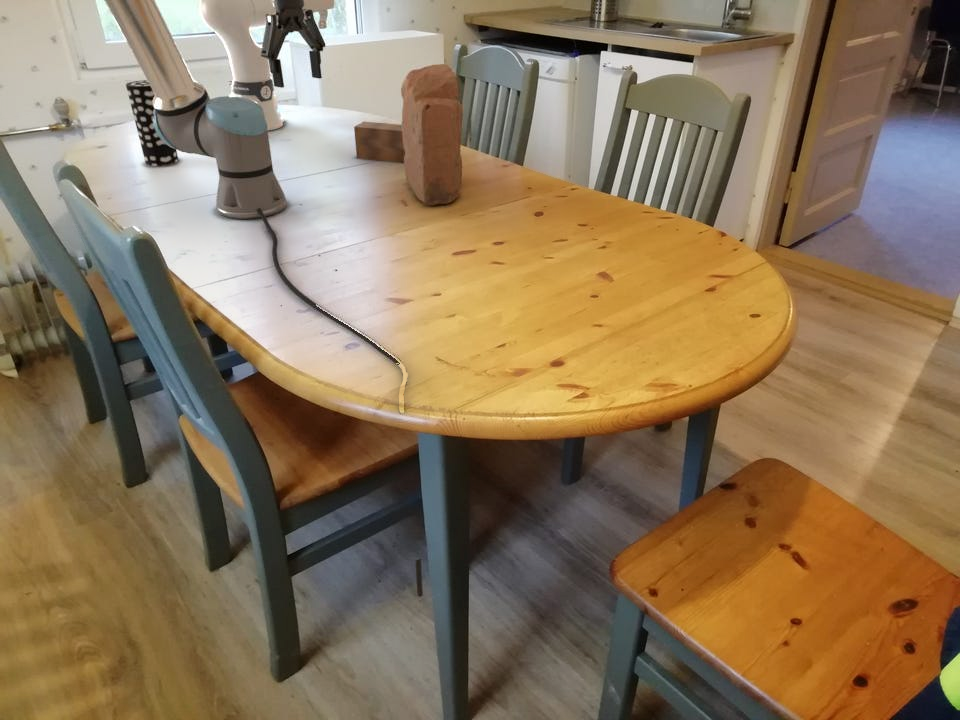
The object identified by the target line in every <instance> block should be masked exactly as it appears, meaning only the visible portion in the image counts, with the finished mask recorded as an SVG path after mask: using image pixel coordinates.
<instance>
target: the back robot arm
mask: <svg viewBox="0 0 960 720" xmlns="http://www.w3.org/2000/svg"><path fill="white" fill-rule="evenodd" d="M334 8H335V0H304V7H303V8H302V9H309V10H312V11H313V14H314V13H318V15H319V18H318V22H317V24H318V25H317V26H318V29H319V30H324V29H327V27H328V26H327V21H328V16H329V15H328V12H329V10H331V9H332V10H333V9H334ZM266 14H273V15H275V14H276V10H275V8H274V7H273V3H272V0H200V1H199V15H200V17H201V19H202V22H203V23H204V24H205V26H206V27H207V28H208V29H210V30H211V31H213V32H214V33H215V34H216V35H217V37H218V38H219V39H220V41H221V42H222V43H223V46H224V48H225V50H226V52H227V55H228V59H229V64H230V68H231V69H230V70H231V74H232V80H230V81H228V83H229V85H228V86H231V93H230V94H229V96H231V97H242V98H247V99H250V100H253V101H255V102H256V103H258V104H259V105H260V106H261V107H262V109H263V111H264V116H265V120H266V122H267V130H268V132H270V131H272V130H277V129H280V128H282V127H283V125H284V122H285V118H284V117H282V113H281V108H282V107H281V105H279V100H278V97H277V95H276V94H275V93H274V90H275V88H274V87H275V86H274V81H273V77H271V72H270V66H269V60H268V59H266V58H265V57H262V56H261V50H262V45H260V44H258V43H256V42H255V40H254V38H253V36H252V33H251V30H254V29H261V28H266ZM303 22H304V23H305V21H304V20H303ZM305 24H306V23H305ZM306 26H307V25H306Z"/></svg>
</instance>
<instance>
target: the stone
mask: <svg viewBox="0 0 960 720" xmlns="http://www.w3.org/2000/svg"><path fill="white" fill-rule="evenodd" d="M400 92H401V97H402V109H401V125H402V134H403V145H404V150H405V156H404V163H403V164H404V165H403V166H404V175H405V177H406V181H407V183H408V184H409V187H410V189H412V191H413V193H414V195H415V196H416V197H417V198H418V200H419V201H422V203H423V205H425V206H436V205H447V204H449V203H452V202H454V200H455V199H457V198H459V197H460V192H461V189H462V185H463V178H462V177H463V159H462V154H461V152H462V151H461V144H462V129H463V119H464V118H463V117H464V108H463V104H461V103H460V100H459V84H458V81H457V76H456V73H455V72H453V70H452V68H451V67H450V65H448V64H446V63H440V64H432V65H428V66H424V67H422V68H418V69H413V70H410V71H409V72H408V73H407V75H406V76H405V78H404V80H403V82H402V85H401V87H400Z"/></svg>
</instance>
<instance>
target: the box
mask: <svg viewBox="0 0 960 720" xmlns="http://www.w3.org/2000/svg"><path fill="white" fill-rule="evenodd" d="M353 131H354V132H353V133H354V141H355V142H354V143H355V151H356V152H355V154H356V159H363V160H371V161H372V160H374V161H383V162H394V163H402V164H404V156H405V150H404V145H403V134H402V124H396V123H385V122H384V123H383V122H376V121H375V122H374V121H373V122H371V121H362V122H360V123H357V125H354V126H353Z"/></svg>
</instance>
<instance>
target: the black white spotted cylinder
mask: <svg viewBox="0 0 960 720" xmlns="http://www.w3.org/2000/svg"><path fill="white" fill-rule="evenodd" d="M125 87H126V91H127V95H128V99H129V103H130V107H131V110H132V115H133V118H134V122H135V123H134V124H135V127H136V130H137V134H138V139H139V143H140V146H141V150H142V155H143V158H144V163H145V164H146V165H147V166H151V167H164V166H170V165H174V164H176V163H178V162H179V155H178V150H177V149H174V148H171V147H170V146H168V145H167V144H165V143H164V142H163V141H162V140H161V139H160V137H159V136H158V134H157V132H156V130H155V128H154V124H153V119H154V115H153V111H154V107H153V104H152V101H153V98H154V96H155V94H154V92H153V90H152V88H151V86H150V84H149V82H148V81H147V79H145V80H144V79H141V80H134V81H130V82H129V81H128V82H127V83H126V84H125Z"/></svg>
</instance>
